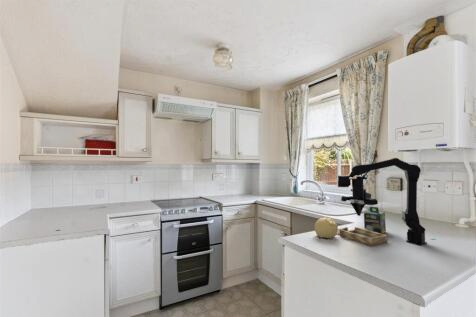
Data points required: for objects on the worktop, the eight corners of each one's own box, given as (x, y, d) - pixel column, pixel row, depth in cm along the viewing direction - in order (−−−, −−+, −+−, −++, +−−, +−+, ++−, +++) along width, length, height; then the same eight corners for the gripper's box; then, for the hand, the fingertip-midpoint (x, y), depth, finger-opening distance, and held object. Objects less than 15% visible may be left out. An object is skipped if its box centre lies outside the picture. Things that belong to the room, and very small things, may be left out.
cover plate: (350, 233, 138) (350, 227, 139) (341, 236, 132) (341, 230, 132) (327, 228, 150) (327, 222, 150) (318, 230, 144) (318, 225, 144)
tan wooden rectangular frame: (387, 242, 121) (387, 235, 121) (370, 246, 115) (370, 239, 115) (356, 233, 137) (356, 227, 137) (340, 236, 131) (340, 229, 131)
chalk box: (386, 231, 140) (385, 206, 140) (381, 235, 133) (380, 208, 134) (369, 228, 146) (368, 204, 147) (363, 231, 140) (363, 206, 140)
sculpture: (340, 240, 124) (339, 220, 124) (316, 239, 126) (315, 219, 127) (335, 234, 135) (335, 215, 135) (313, 233, 138) (313, 214, 138)
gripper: (383, 187, 127) (384, 217, 126) (353, 185, 144) (354, 211, 143) (370, 189, 122) (371, 219, 121) (340, 186, 139) (341, 213, 138)
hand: (359, 215), depth 131 cm, fingers closed
